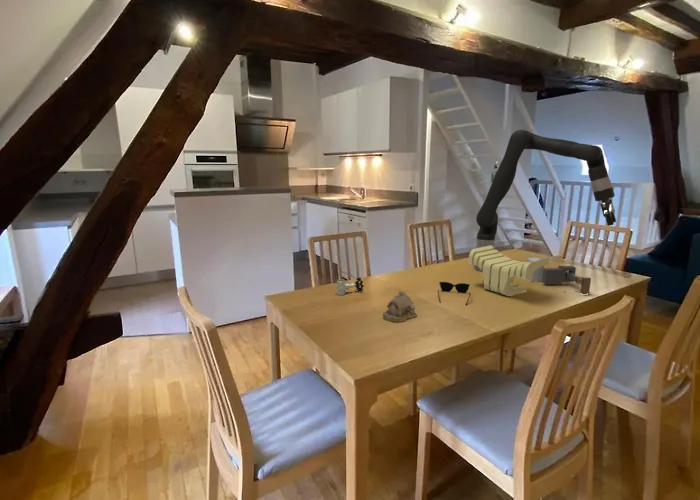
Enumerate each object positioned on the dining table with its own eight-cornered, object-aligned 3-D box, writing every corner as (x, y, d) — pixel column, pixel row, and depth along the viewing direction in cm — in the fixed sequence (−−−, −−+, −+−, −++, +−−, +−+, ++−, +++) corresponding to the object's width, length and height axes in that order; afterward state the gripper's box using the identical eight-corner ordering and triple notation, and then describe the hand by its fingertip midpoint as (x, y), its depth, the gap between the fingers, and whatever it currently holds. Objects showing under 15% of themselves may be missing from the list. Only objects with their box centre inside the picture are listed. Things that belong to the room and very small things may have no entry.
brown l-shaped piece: (567, 296, 176) (569, 278, 174) (543, 281, 197) (545, 265, 195) (589, 295, 177) (592, 278, 175) (563, 281, 197) (565, 265, 195)
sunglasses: (469, 293, 181) (470, 283, 180) (469, 308, 166) (470, 297, 165) (438, 291, 185) (439, 281, 183) (436, 305, 170) (436, 294, 169)
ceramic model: (397, 307, 165) (397, 284, 162) (421, 314, 158) (422, 290, 156) (377, 318, 154) (378, 293, 152) (402, 325, 147) (403, 300, 145)
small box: (542, 282, 196) (544, 261, 194) (531, 282, 196) (533, 261, 194) (535, 277, 204) (537, 257, 202) (524, 277, 204) (526, 257, 202)
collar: (545, 284, 190) (546, 268, 188) (541, 282, 193) (543, 266, 191) (573, 283, 190) (575, 267, 188) (570, 281, 193) (572, 265, 191)
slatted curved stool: (467, 285, 192) (469, 249, 188) (488, 279, 200) (491, 245, 196) (522, 304, 167) (527, 263, 163) (544, 296, 176) (549, 257, 172)
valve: (339, 297, 177) (363, 293, 182) (339, 283, 176) (363, 279, 181) (334, 292, 183) (357, 289, 188) (333, 279, 182) (357, 275, 186)
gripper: (595, 190, 185) (605, 223, 185) (589, 192, 174) (600, 228, 174) (614, 185, 180) (624, 219, 180) (609, 187, 169) (620, 224, 169)
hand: (612, 223), depth 177 cm, fingers open, 8 cm apart
